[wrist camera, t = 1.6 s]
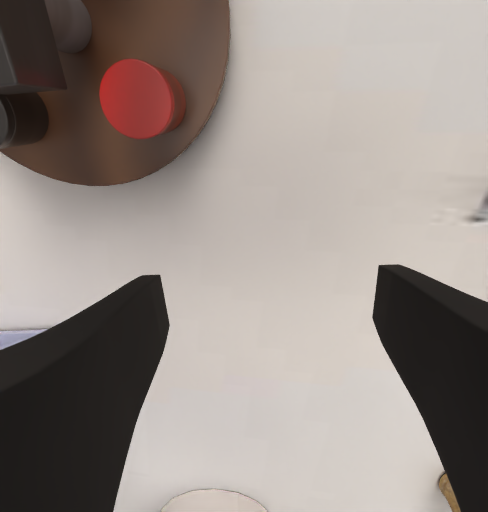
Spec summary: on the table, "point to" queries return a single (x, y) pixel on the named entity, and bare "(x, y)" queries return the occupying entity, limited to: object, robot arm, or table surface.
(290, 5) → the table surface
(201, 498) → the vase
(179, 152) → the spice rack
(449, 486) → the sprinkles bottle
